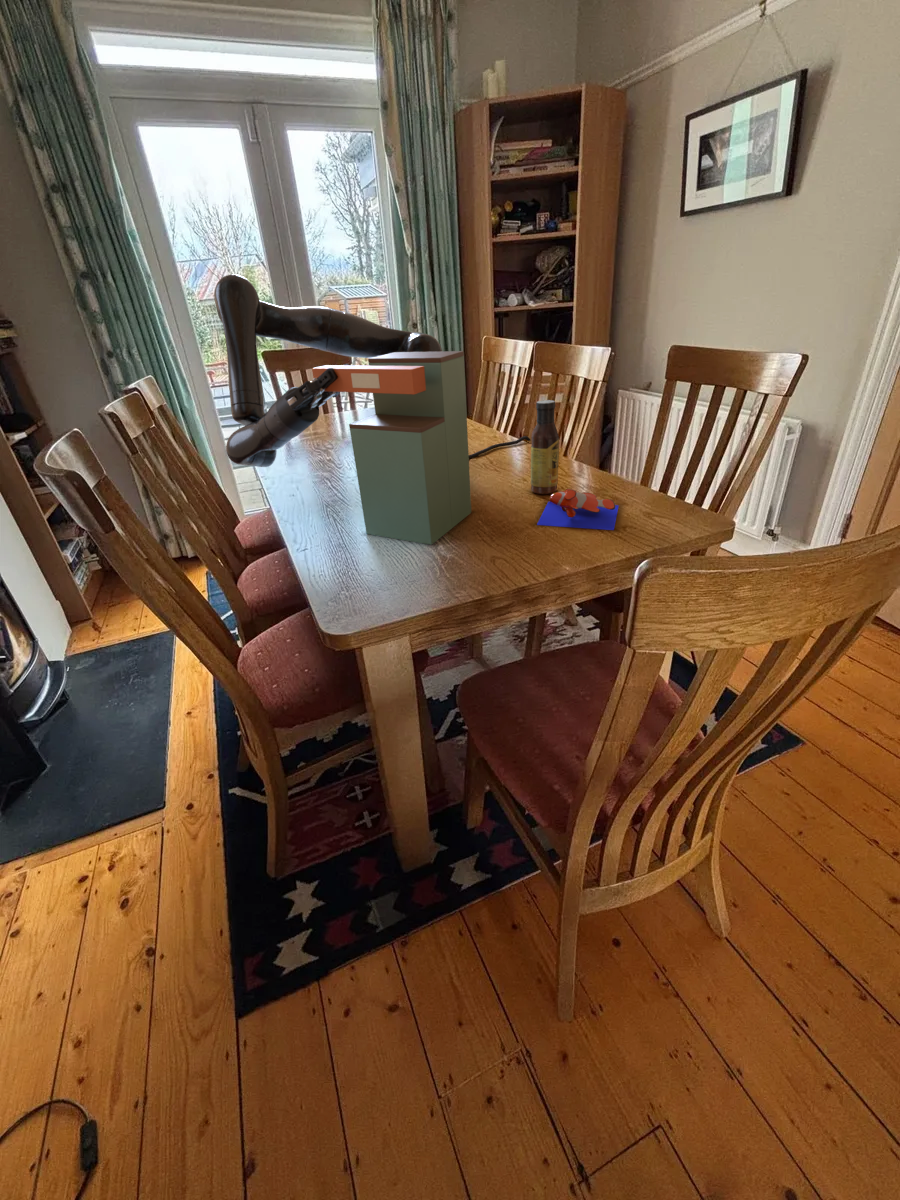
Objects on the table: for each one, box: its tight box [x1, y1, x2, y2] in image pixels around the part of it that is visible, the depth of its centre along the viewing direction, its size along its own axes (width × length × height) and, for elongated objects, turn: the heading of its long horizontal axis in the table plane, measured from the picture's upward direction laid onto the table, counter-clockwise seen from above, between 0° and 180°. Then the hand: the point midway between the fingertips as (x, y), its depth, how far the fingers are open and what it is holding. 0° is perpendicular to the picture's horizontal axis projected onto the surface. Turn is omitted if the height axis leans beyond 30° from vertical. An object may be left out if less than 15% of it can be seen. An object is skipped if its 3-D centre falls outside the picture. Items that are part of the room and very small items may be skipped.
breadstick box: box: [311, 364, 426, 394], centre depth 96 cm, size 22×4×4 cm, turn 62°
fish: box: [548, 488, 617, 518], centre depth 108 cm, size 13×5×9 cm
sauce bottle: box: [530, 399, 560, 495], centre depth 118 cm, size 7×6×20 cm
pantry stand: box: [348, 350, 472, 546], centre depth 103 cm, size 16×18×32 cm
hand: (341, 370), depth 97 cm, fingers closed on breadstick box, 4 cm apart
